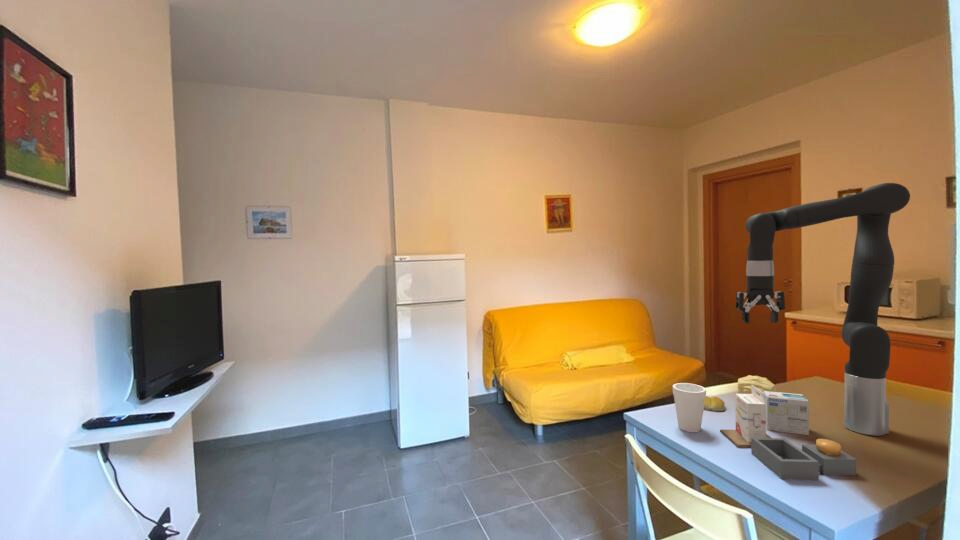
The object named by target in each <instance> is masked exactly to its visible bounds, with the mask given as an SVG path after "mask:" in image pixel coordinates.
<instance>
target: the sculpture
mask: <svg viewBox="0 0 960 540" xmlns="http://www.w3.org/2000/svg"><path fill="white" fill-rule="evenodd" d="M751 385H753V386H754V387H756V388H757V389H759V390H760V391H762V392H763V391H769V392H778V391H777V389H776V385H775V384H774V383H773V382H772V381H770V380H769V379H768V378H767V377H762V376H759V375H750V374H748V375H746V376H743V377H739V378H738V379H737V394H752V390H751ZM756 393H757V394H758V395H759V396H760V394H759V393H758V391H757V392H756Z"/></svg>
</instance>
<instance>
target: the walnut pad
mask: <svg viewBox="0 0 960 540" xmlns="http://www.w3.org/2000/svg"><path fill="white" fill-rule="evenodd" d="M719 433H721V434H722V435H723V436H724V437H725V438H726V439H727V440H728V441H730V442H731V443H732V444H733V445H735V446H736V448H749V449H751V443H748V442H747V441H746V440H745V439H744V438H743V437H742V436H741V435H740V434H739V433H738V432H737V431H736V429H719ZM766 438H772V437H771V436H770V435H769V434H767V433H766Z"/></svg>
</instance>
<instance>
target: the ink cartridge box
mask: <svg viewBox="0 0 960 540" xmlns="http://www.w3.org/2000/svg"><path fill="white" fill-rule="evenodd" d="M751 390H752V394H739V393H735V430H736V431H737V432H738V433H739V434H740V435H741V436H742V437H743V438H744V439H745V440H746V441H747V442H748V443H751V439H752V438H766V434H767V428H766V403H765V394H764V393H763V392H762V391H760V390H759V389H757V388H756V387H754V386H753V385H751ZM757 391H758V393H759V394H760V396H759V395H758V394H757V393H756V392H757Z"/></svg>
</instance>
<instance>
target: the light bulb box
mask: <svg viewBox="0 0 960 540" xmlns="http://www.w3.org/2000/svg"><path fill="white" fill-rule="evenodd" d="M763 393H764V394H765V403H766V431H772V430H774V432H780V431H781V432H780V433H787V432H788V433H789V434H794V435H795V434H796V435H805V436H810V435H809V434H810V429H809V428H810V424H809V423H810V422H809V421H810V417H809V416H810V413H809V412H810V411H809V410H810V408H809V404H810V403H809V400H808V399H807V398H806V396H804V395H803V394H802V393H791V392H790V393H789V392H780V391H779V392H778V391H777V392H769V391H763ZM788 433H787V434H788Z"/></svg>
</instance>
